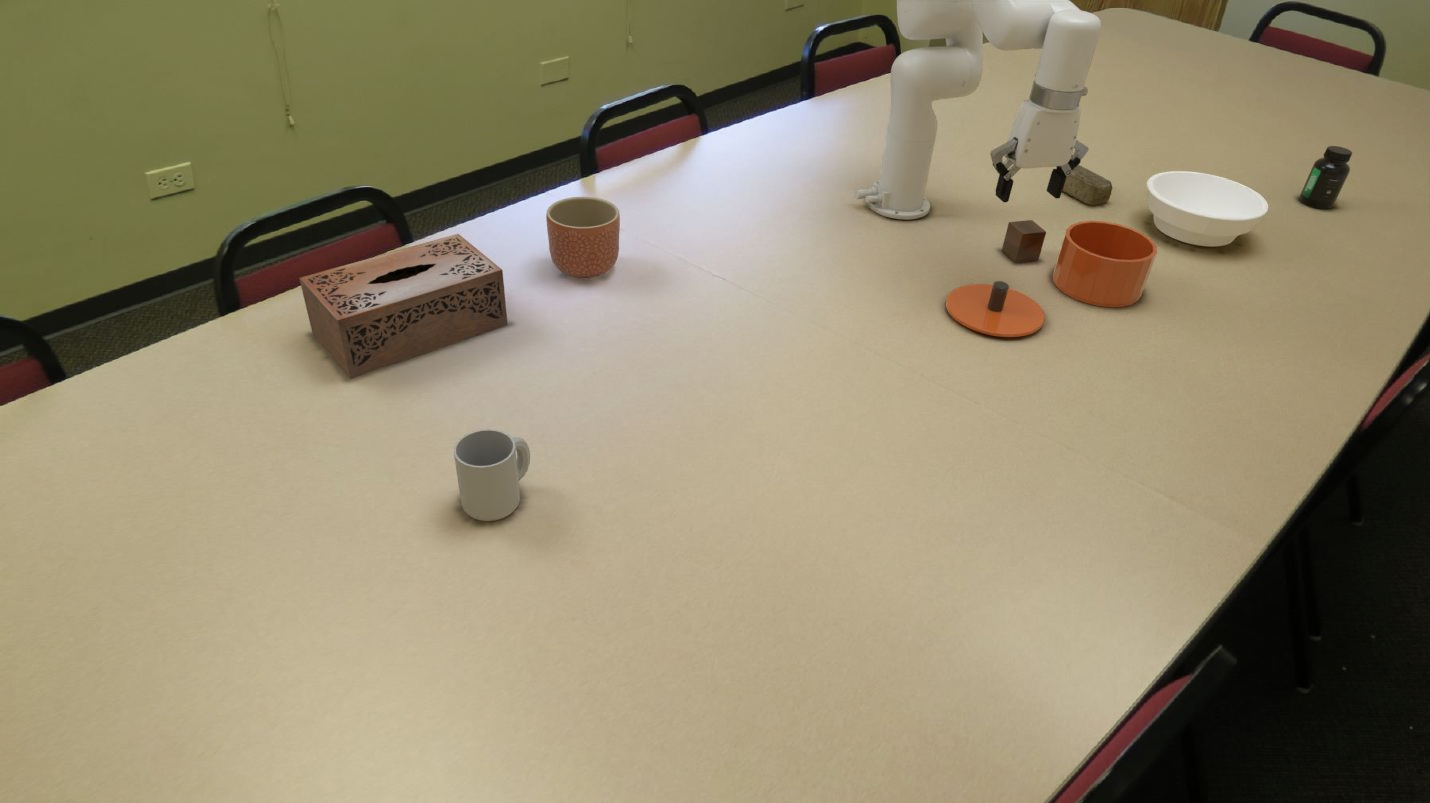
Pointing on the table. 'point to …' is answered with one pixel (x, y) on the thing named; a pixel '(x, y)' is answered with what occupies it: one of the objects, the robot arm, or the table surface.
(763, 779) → the table surface
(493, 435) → the cup
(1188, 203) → the bowl
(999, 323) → the pan lid
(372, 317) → the tissue box cover
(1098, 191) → the stone block
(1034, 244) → the metal block
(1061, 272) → the pan
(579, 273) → the planter
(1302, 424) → the table surface
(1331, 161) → the supplement bottle
